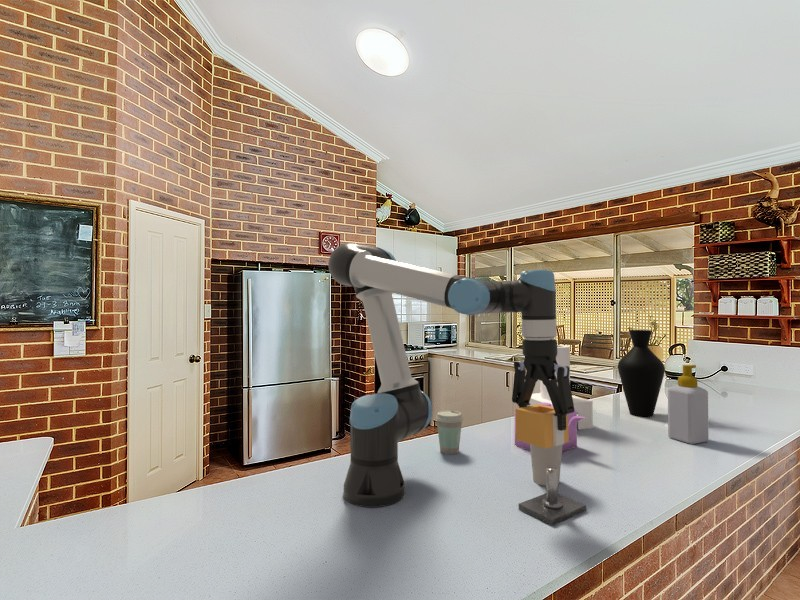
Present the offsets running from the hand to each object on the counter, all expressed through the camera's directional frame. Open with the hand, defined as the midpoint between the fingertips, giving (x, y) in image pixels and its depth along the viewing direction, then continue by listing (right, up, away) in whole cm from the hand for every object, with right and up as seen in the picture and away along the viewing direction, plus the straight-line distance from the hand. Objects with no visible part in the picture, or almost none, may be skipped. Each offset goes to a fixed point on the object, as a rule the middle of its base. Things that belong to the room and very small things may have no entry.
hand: (542, 439), depth 98 cm
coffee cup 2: (+6, -16, +16) cm, 24 cm away
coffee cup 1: (-16, -17, +39) cm, 46 cm away
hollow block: (0, 0, 0) cm, 0 cm away
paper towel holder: (+28, -17, +70) cm, 77 cm away
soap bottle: (+66, -16, +50) cm, 84 cm away
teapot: (+16, -17, +43) cm, 49 cm away
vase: (+68, -16, +82) cm, 108 cm away
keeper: (+2, -16, 0) cm, 16 cm away
